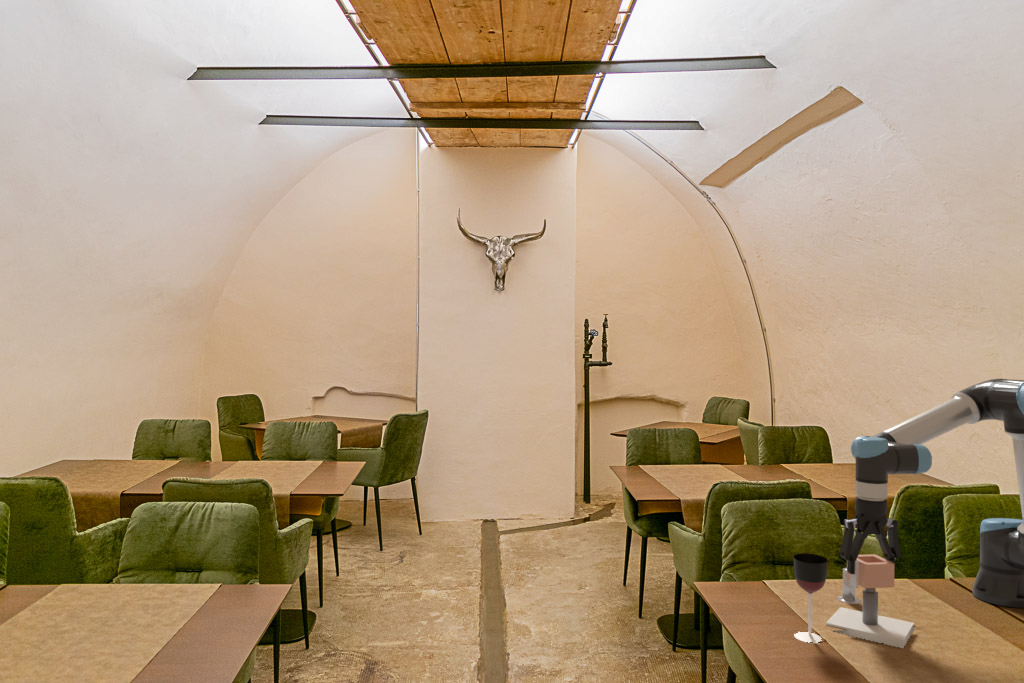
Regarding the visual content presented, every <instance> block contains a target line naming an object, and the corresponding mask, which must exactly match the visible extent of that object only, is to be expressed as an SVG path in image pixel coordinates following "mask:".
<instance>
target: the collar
mask: <svg viewBox="0 0 1024 683" xmlns="http://www.w3.org/2000/svg"><path fill="white" fill-rule="evenodd" d="M856 561H857V562H859V587H861V588H864V589H865V588H876V589H881V588H882V589H883V588H885V589H886V588H887V589H888V588H894V587H895V562H893V563H892V562H890V561H888V560H886V559H885V557H884V558H883V557H882V556H879V555H877V554H859V555H858V557H857V560H856ZM847 578H848V579H849V580H850V573H848V571H847Z"/></svg>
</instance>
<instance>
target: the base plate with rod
mask: <svg viewBox="0 0 1024 683" xmlns="http://www.w3.org/2000/svg"><path fill="white" fill-rule="evenodd" d="M876 589H877V588H864V589H863V590H862V609H861V610H862V611H860V610H856V609H851V608H847V607H841V606H840V607H838V609H837V610H836V611H835V612H834V614H832V615H831V617H830V618H828V620H827V621H826V622H825V625H826V626H829V627H834V628H838V629H839V630H832V631H833V632H832V633H835V632H837V633H836V634H839V633H841V634H840V635H843V634H845V635H844V636H847V635H849V636H848V637H852V636H853V637H852V638H856V637H857V638H856V639H860V638H861V640H864V639H865V641H869V640H870V641H869V642H873V641H874V643H877V642H878V644H881V643H884V644H883V645H886V644H887V645H886V646H890V645H891V646H890V647H894V646H895V648H898V647H899V649H904V648H905V647H906V645H907V643H908V642H909V640H910V638H911V637H912V635H911V634H913V633H914V632H915V622H912V621H907V620H904V619H898V618H894V617H889V616H883V615H879V592H878V591H876ZM841 629H842V630H841ZM913 631H914V632H913ZM912 632H913V633H912ZM910 636H911V637H910ZM908 639H909V640H908ZM907 641H908V642H907ZM904 646H905V647H904Z"/></svg>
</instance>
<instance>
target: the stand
mask: <svg viewBox="0 0 1024 683" xmlns="http://www.w3.org/2000/svg"><path fill="white" fill-rule="evenodd" d="M835 599H836V601H838V602H841V603H843V604H849V605H859V604H862V603H863V600H862V599H860V598H858V597H856V588H855V587H853V586H852V585H850V580H849V579H848V578H847V567H844V568H842V595H838V596H836V597H835Z"/></svg>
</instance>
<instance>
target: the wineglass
mask: <svg viewBox="0 0 1024 683" xmlns="http://www.w3.org/2000/svg"><path fill="white" fill-rule="evenodd" d="M793 570H794V571H793V572H794V578H795V580H796V582H797V583H796V584H797V586H799V587H800V588H801V589H803V590H804V591H805V592H807V594H808V602H807V603H808V612H807V614H808V615H807V616H808V620H807V623H808V626H807V631H808V632H800V631H797V632H798V633H796V632H795V633H796V634H795V633H794V634H793V637H794V638H795V639H796V640H798V641H801V642H803V643H807V642H808V644H811V643H810V642H813V643H812V644H819V643H818V642H820V641H822V640H821V639H822V638H821V636H819V635H817V634H815V633H816V632H814V633H811V632H813V631H812V629H813V628H812V622H813V621H812V619H813V618H812V617H813V616H812V615H813V613H812V612H813V611H812V610H813V607H812V606H813V604H812V603H813V598H812V597H813V593H816V592H818V591H820V590H822V589H823V588H824V585H825V583H826V579H827V577H828V576H827V574H828V558H826V557H825V556H823V555H819V554H816V553H808V552H807V553H806V552H805V553H803V552H802V553H796V554H794V555H793Z"/></svg>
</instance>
